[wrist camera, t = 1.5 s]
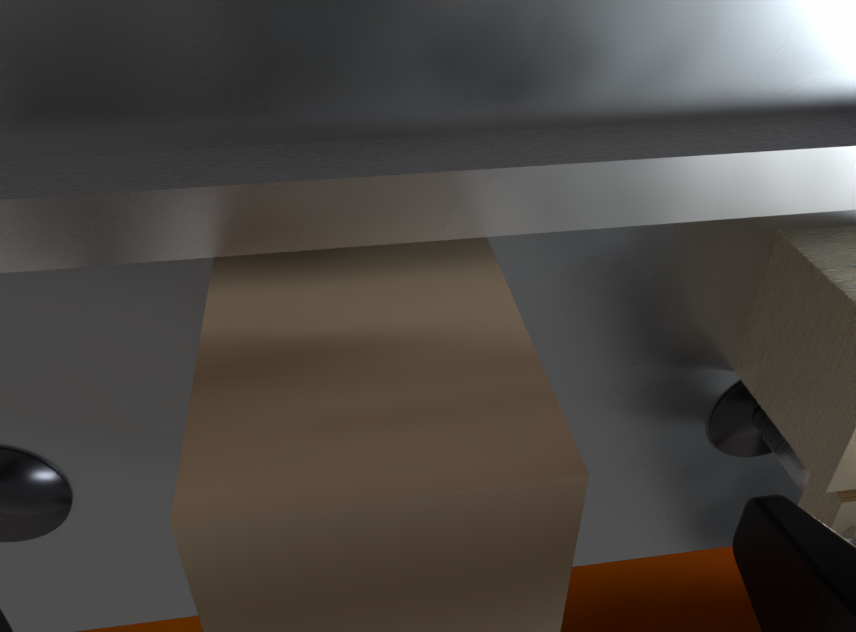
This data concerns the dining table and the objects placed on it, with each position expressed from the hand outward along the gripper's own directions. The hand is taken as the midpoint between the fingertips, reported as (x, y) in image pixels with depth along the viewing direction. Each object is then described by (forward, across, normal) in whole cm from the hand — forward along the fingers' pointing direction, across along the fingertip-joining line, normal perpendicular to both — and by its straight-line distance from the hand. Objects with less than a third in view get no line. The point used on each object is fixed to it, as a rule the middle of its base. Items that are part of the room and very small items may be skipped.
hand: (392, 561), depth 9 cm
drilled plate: (+5, 0, 0) cm, 5 cm away
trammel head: (+4, 0, 0) cm, 4 cm away
